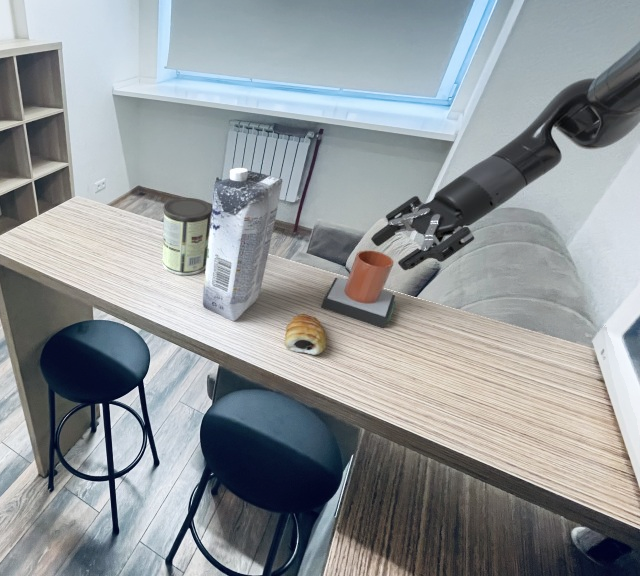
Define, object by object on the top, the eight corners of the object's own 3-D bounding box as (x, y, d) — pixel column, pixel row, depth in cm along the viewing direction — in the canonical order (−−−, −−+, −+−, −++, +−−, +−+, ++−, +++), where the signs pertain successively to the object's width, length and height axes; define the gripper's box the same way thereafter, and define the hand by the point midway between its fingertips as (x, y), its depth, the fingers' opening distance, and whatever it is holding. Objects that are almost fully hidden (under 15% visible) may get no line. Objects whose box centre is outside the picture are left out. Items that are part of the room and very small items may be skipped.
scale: (393, 304, 80) (398, 293, 79) (385, 329, 74) (391, 317, 73) (332, 286, 86) (336, 274, 84) (321, 307, 80) (324, 296, 78)
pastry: (286, 318, 77) (291, 302, 75) (324, 326, 75) (330, 310, 73) (281, 350, 70) (286, 333, 68) (323, 360, 68) (330, 344, 66)
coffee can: (179, 248, 100) (183, 193, 92) (214, 262, 94) (222, 205, 86) (152, 264, 94) (153, 207, 86) (188, 281, 88) (193, 222, 80)
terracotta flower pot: (384, 295, 78) (399, 259, 74) (368, 307, 75) (383, 271, 71) (353, 281, 82) (366, 247, 77) (338, 292, 79) (350, 257, 74)
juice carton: (262, 301, 82) (290, 169, 66) (235, 327, 75) (260, 188, 60) (223, 285, 87) (242, 158, 71) (195, 308, 80) (208, 174, 65)
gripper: (440, 162, 72) (356, 224, 78) (506, 193, 60) (401, 263, 66) (455, 189, 75) (374, 247, 81) (521, 224, 63) (420, 288, 69)
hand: (386, 254), depth 74 cm, fingers open, 8 cm apart
